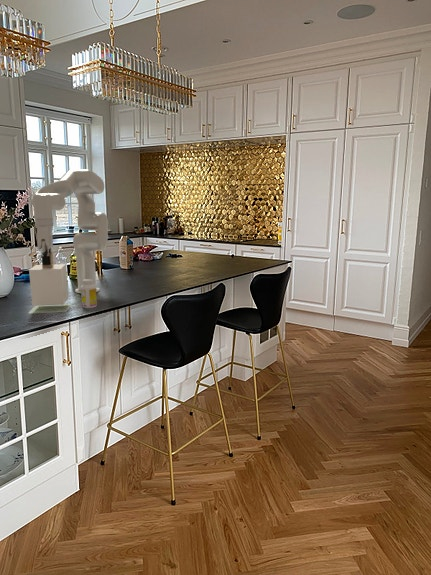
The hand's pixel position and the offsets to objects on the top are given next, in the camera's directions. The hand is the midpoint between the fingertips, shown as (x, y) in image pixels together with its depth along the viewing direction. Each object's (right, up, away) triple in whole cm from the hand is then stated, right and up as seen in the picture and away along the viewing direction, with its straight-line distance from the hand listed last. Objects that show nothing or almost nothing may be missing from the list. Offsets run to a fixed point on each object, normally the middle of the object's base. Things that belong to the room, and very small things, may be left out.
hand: (47, 263), depth 196 cm
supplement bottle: (+17, -20, +8) cm, 27 cm away
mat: (0, -20, +4) cm, 21 cm away
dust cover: (0, -17, +4) cm, 17 cm away
